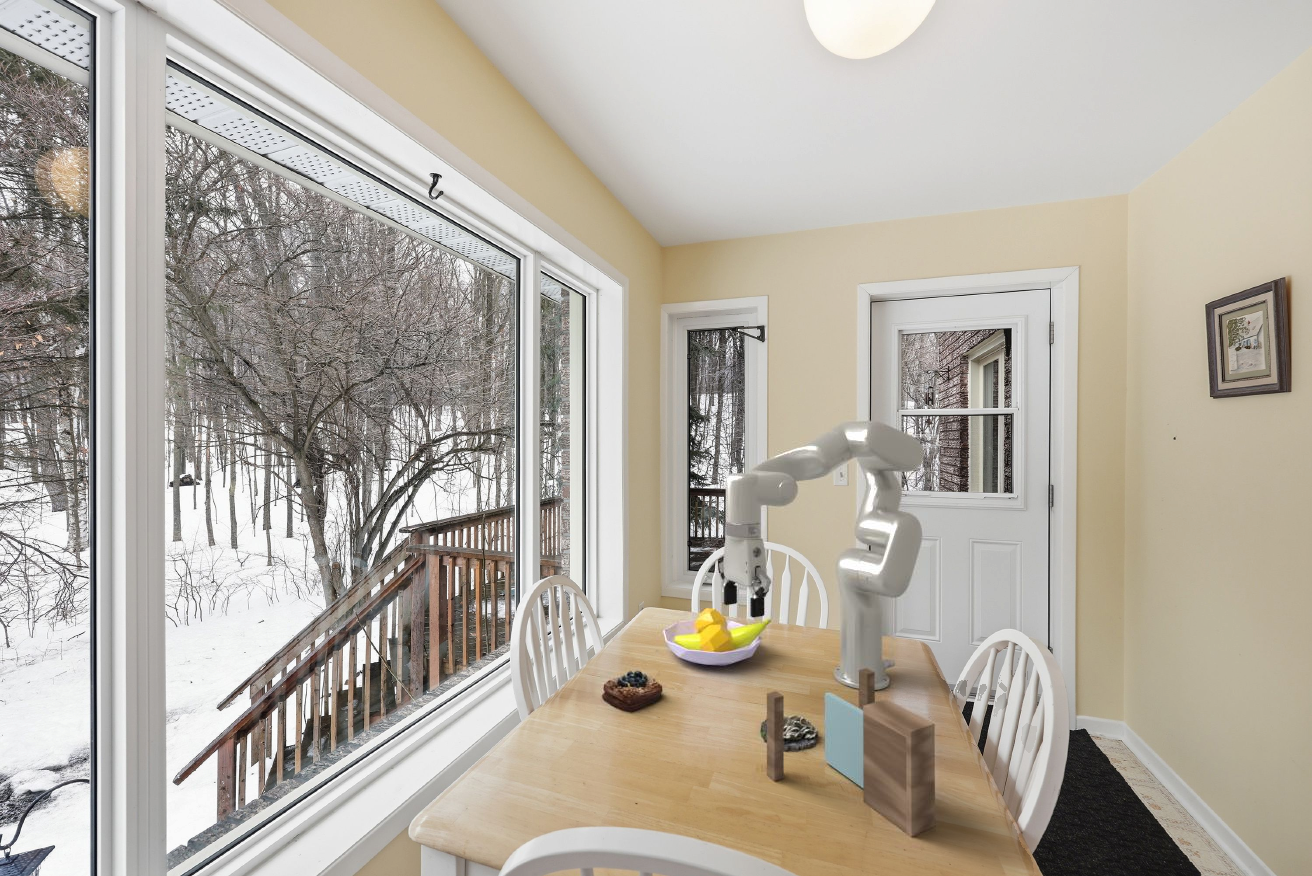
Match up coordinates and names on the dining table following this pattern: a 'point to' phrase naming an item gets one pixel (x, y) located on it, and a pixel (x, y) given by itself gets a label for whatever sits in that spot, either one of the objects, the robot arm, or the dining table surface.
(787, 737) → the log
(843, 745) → the door panel
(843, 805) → the dining table surface
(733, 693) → the dining table surface
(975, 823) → the dining table surface
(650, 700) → the pastry
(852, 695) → the dining table surface
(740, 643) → the fruit bowl
